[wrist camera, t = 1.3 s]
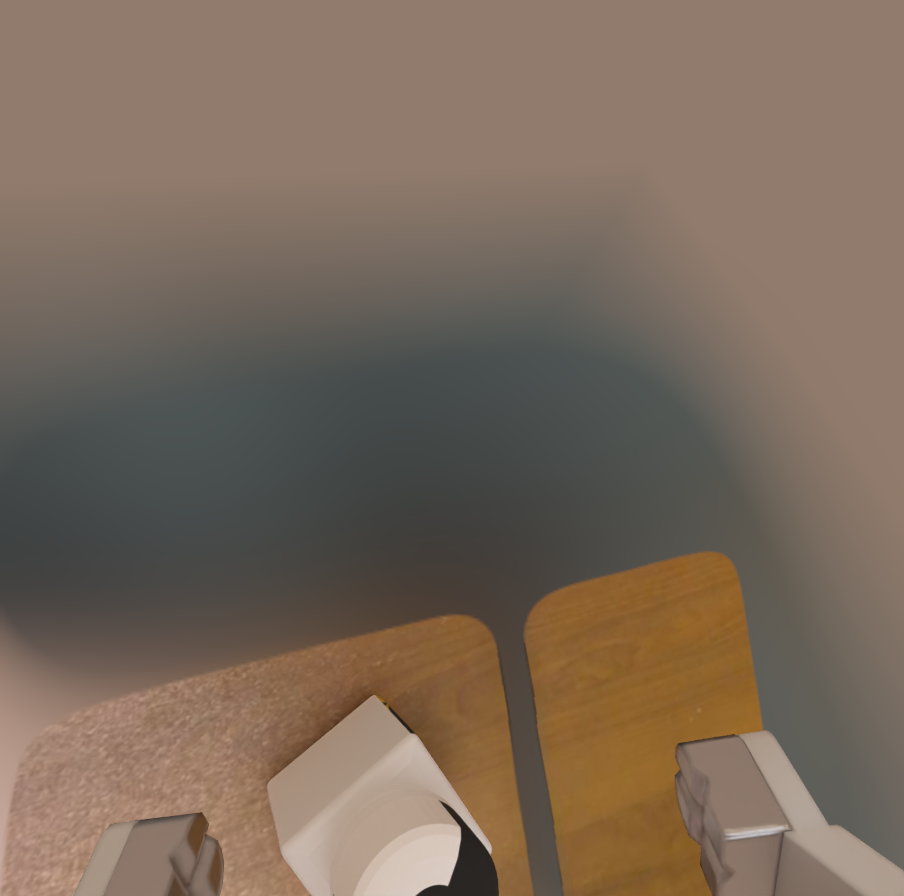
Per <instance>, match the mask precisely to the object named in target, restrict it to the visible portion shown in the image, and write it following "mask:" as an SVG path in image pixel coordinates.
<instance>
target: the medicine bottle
mask: <svg viewBox="0 0 904 896" xmlns="http://www.w3.org/2000/svg"><path fill="white" fill-rule="evenodd" d="M267 792H268V797H269V801H270V805H271V810H272V814H273V819H274V823H275V828H276V832H277V837H278V841H279V845H280V850H281V854H282V856H283V858H284V859H285V861H286V862H287V863H288V865H289V866H290V867H291V869H292V870H293V871H294V873H295V874H296V875H297V877H298V878H299V880H300V881H301V882H302V884H303V885H304V886H305V888H306V889H307V890H308V892H309V893H310V894H311V896H499V890H498V878H497V873H496V869H495V866H494V862H493V860H492V858H491V856H490V854H491V853H492V847H491V844H490V842H489V841H488V839H487V838H486V836H485V835H484V833H483V832H482V830H481V829H480V827H479V826H478V824H477V823H476V821H475V820H474V818H473V817H472V816H471V814H470V813H469V811H468V810H467V808H466V807H465V805H464V804H463V802H462V801H461V799H460V798H459V796H458V795H457V793H456V792H455V790H454V789H453V788H452V786H451V785H450V783H449V782H448V780H447V779H446V777H445V776H444V774H443V773H442V771H441V770H440V768H439V767H438V765H437V764H436V762H435V761H434V760H433V758H432V757H431V755H430V754H429V752H428V751H427V749H426V748H425V746H424V745H423V743H422V742H421V740H420V739H419V737H418V736H417V735H416V734H415V733H414V732H413V731H412V730H411V729H410V728H409V726H408V725H407V724H406V723H405V722H404V721H403V720H402V719H401V718H400V717H399V716H398V715H397V714H396V713H395V712H394V711H393V710H392V709H391V707H390V706H389V705H388V704H387V703H386V702H385V701H384V700H383V699H382V698H381V697H380V696H379V695H373V696H371V697H370V698H368V699H367V700H366V701H365V702H364V703H362V704H361V705H360V706H359V707H358V708H356V709H355V710H354V711H353V712H352V713H350V714H349V715H348V716H347V717H346V718H344V719H343V720H342V721H341V722H340V723H338V724H337V725H336V726H335V727H334V728H332V729H331V730H330V731H329V732H327V733H326V734H325V735H324V736H323V737H321V738H320V739H319V740H318V741H317V742H315V743H314V744H313V745H312V746H311V747H309V748H308V749H307V750H306V751H305V752H303V753H302V754H301V755H300V756H299V757H297V758H296V759H295V760H294V761H293V762H291V763H290V764H289V765H288V766H287V767H285V768H284V769H283V770H282V771H281V772H279V773H278V774H277V775H276V776H275V777H273V778H272V779H271V780H270V781H269V782H268V784H267Z"/></svg>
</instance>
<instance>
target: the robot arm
mask: <svg viewBox="0 0 904 896" xmlns="http://www.w3.org/2000/svg"><path fill="white" fill-rule="evenodd" d="M675 758H676V761H677V763H678V765H679V768H680V770H679V771H678V773H677V774H676V775H675V790H676V796H677V801H678V806H679V809H680V813H681V816H682V819H683V822H684V825H685V827H686V830H687V832H688V835H689V837H690V838H692V839H693V840H694V841H695V842H696V843H698V844H699V845H700V846H701V855H700V866H701V868H702V871H703V873H704V876H705V878H706V881H707V883H708V885H709V888H710V890H711V893H712V895H713V896H904V871H903V870H902V869H900V868H899V867H897V866H896V865H895V864H893V863H892V862H890V861H889V860H887V859H886V858H884V857H883V856H882V855H880V854H879V853H878V852H876V851H875V850H873V849H872V848H871V847H869V846H868V845H866V844H865V843H863V842H862V841H861V840H859V839H858V838H856V837H855V836H854V835H852V834H851V833H849V832H848V831H847V830H845V829H843V828H842V827H841V826H840V825H832V826H829V825H828V823H827V822H826V820H825V819H824V817H823V815H822V814H821V812H820V810H819V809H818V807H817V805H816V804H815V802H814V801H813V799H812V797H811V796H810V794H809V792H808V791H807V789H806V787H805V786H804V784H803V783H802V781H801V779H800V778H799V776H798V774H797V773H796V771H795V770H794V768H793V766H792V765H791V763H790V762H789V760H788V758H787V756H786V755H785V753H784V752H783V750H782V748H781V747H780V745H779V743H778V742H777V740H776V739H775V737H774V736H773V735H772V734H771V733H770V732H768V731H758V732H752V733H746V734H740V735H735V734H733V735H726V736H720V737H714V738H708V739H702V740H695V741H689V742H683V743H678V744H677V746H676V753H675ZM208 826H209V823H208V821H207V820H206V818H205V816H204V815H203V813H202V812H200V813H193V814H185V815H177V816H169V817H161V818H153V819H145V820H135V821H128V822H121V823H114V824H110V826H109V827H108V828H107V829H106V830H105V831H104V833H103V834H102V835H101V837H100V839H99V841H98V843H97V845H96V848H95V850H94V852H93V854H92V856H91V858H90V861H89V863H88V865H87V867H86V869H85V871H84V873H83V876H82V878H81V880H80V882H79V884H78V886H77V888H76V891H75V893H74V895H73V896H220V892H221V888H222V884H223V872H224V859H223V854H222V849H221V847H220V845H219V843H218V841H217V840H216V839H214V838H212V837H210V836H208V835H207V834H206V833H207V829H208Z"/></svg>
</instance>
